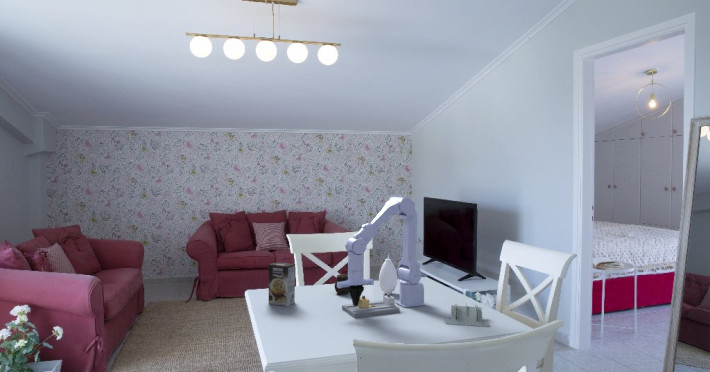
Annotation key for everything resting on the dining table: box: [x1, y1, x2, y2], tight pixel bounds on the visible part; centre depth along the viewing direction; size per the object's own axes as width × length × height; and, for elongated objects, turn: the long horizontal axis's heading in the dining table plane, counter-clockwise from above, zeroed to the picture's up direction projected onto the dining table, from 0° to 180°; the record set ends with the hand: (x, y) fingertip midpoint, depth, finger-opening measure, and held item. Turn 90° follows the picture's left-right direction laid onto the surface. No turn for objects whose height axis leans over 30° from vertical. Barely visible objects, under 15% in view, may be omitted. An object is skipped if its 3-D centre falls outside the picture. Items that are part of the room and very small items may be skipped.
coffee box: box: [268, 261, 296, 307], centre depth 195 cm, size 9×6×16 cm
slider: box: [358, 295, 370, 308], centre depth 185 cm, size 3×4×4 cm
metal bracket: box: [444, 302, 490, 328], centre depth 175 cm, size 14×6×15 cm
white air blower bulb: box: [378, 252, 398, 295], centre depth 211 cm, size 8×8×18 cm
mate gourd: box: [334, 272, 350, 295], centre depth 211 cm, size 7×8×10 cm
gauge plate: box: [341, 293, 401, 319], centre depth 186 cm, size 19×12×6 cm, turn 114°
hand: (355, 305), depth 183 cm, fingers closed
